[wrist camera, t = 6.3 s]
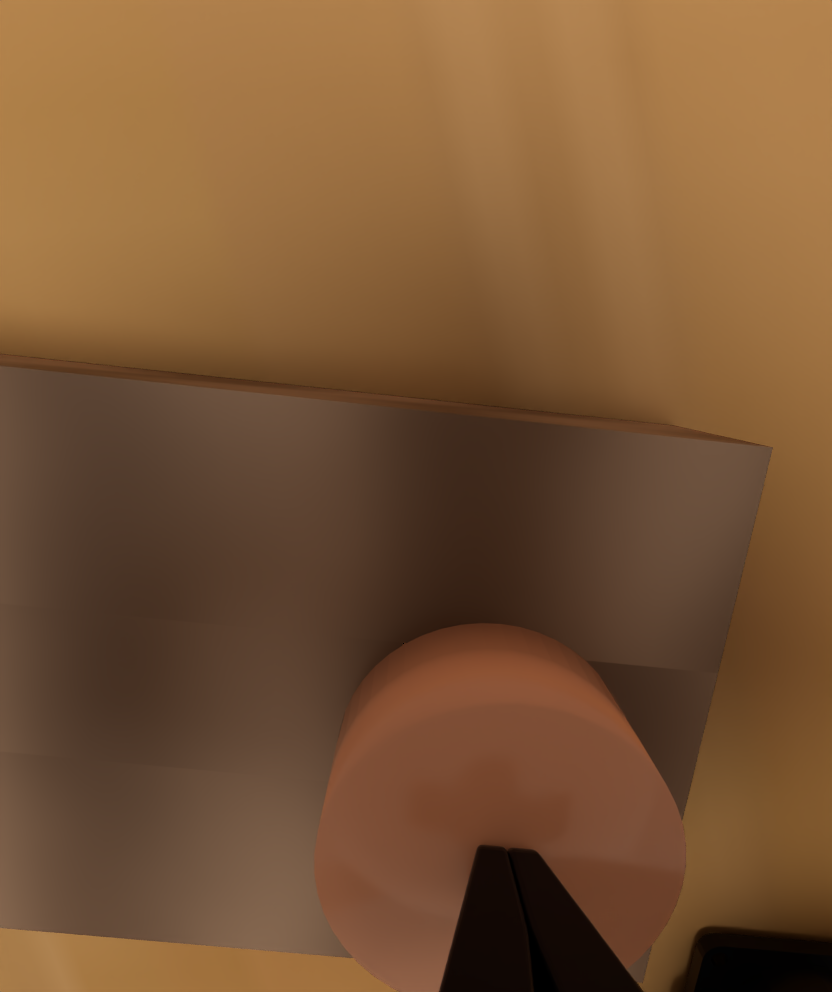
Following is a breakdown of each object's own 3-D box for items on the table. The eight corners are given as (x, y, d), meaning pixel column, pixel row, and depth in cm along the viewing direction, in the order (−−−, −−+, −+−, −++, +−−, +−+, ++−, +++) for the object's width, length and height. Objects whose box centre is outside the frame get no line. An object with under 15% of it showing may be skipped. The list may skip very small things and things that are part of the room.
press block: (673, 425, 14) (772, 447, 10) (589, 837, 17) (642, 983, 13) (-330, 318, 13) (-637, 298, 10) (-253, 761, 16) (-469, 887, 12)
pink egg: (583, 561, 14) (722, 723, 7) (550, 750, 15) (646, 1027, 9) (368, 540, 14) (327, 685, 7) (351, 731, 15) (302, 998, 8)
